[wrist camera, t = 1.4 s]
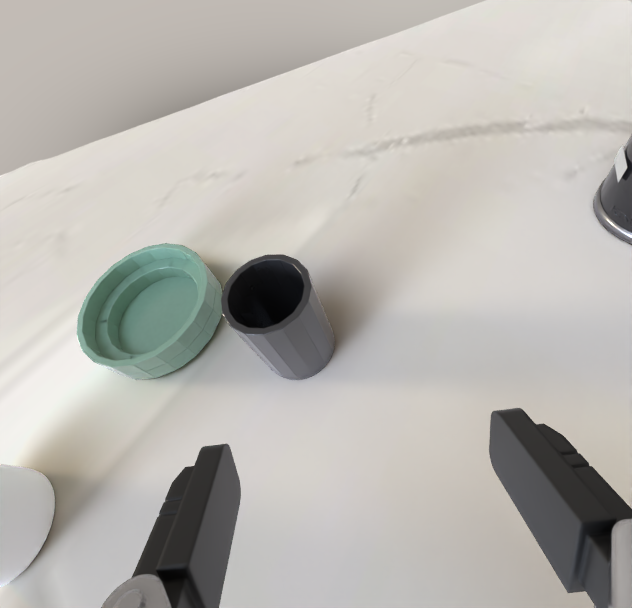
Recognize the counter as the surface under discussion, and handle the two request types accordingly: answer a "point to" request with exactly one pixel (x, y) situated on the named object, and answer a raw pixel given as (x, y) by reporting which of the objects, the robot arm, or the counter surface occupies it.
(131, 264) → the bowl
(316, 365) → the cup
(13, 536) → the mug
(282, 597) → the counter surface
